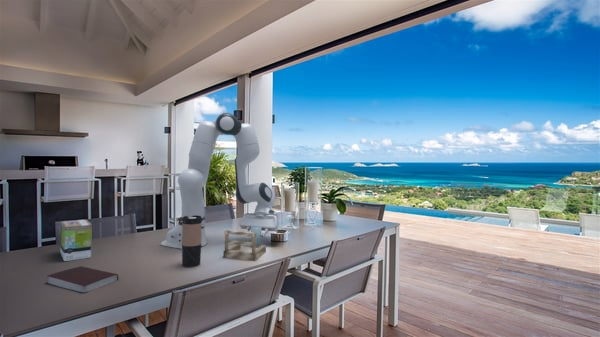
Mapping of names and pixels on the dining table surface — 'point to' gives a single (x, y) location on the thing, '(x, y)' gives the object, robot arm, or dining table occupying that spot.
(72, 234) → the tea box
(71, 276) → the book
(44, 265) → the dining table surface
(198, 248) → the travel mug
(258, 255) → the rack
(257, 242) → the grey upright block
